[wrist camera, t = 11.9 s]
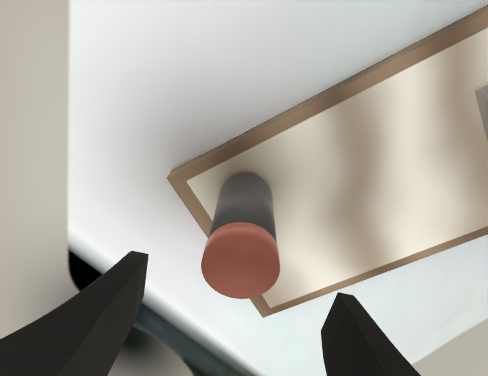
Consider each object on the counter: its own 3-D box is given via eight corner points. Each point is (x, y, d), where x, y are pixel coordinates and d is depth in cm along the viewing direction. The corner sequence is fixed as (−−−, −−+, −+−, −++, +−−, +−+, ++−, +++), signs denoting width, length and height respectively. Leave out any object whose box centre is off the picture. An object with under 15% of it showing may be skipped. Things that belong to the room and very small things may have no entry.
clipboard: (491, 3, 17) (524, -2, 15) (535, 202, 22) (564, 220, 20) (171, 171, 22) (162, 185, 20) (262, 305, 26) (263, 329, 24)
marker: (254, 157, 20) (253, 221, 13) (282, 199, 21) (294, 279, 14) (209, 183, 20) (185, 257, 14) (238, 223, 22) (229, 309, 15)
